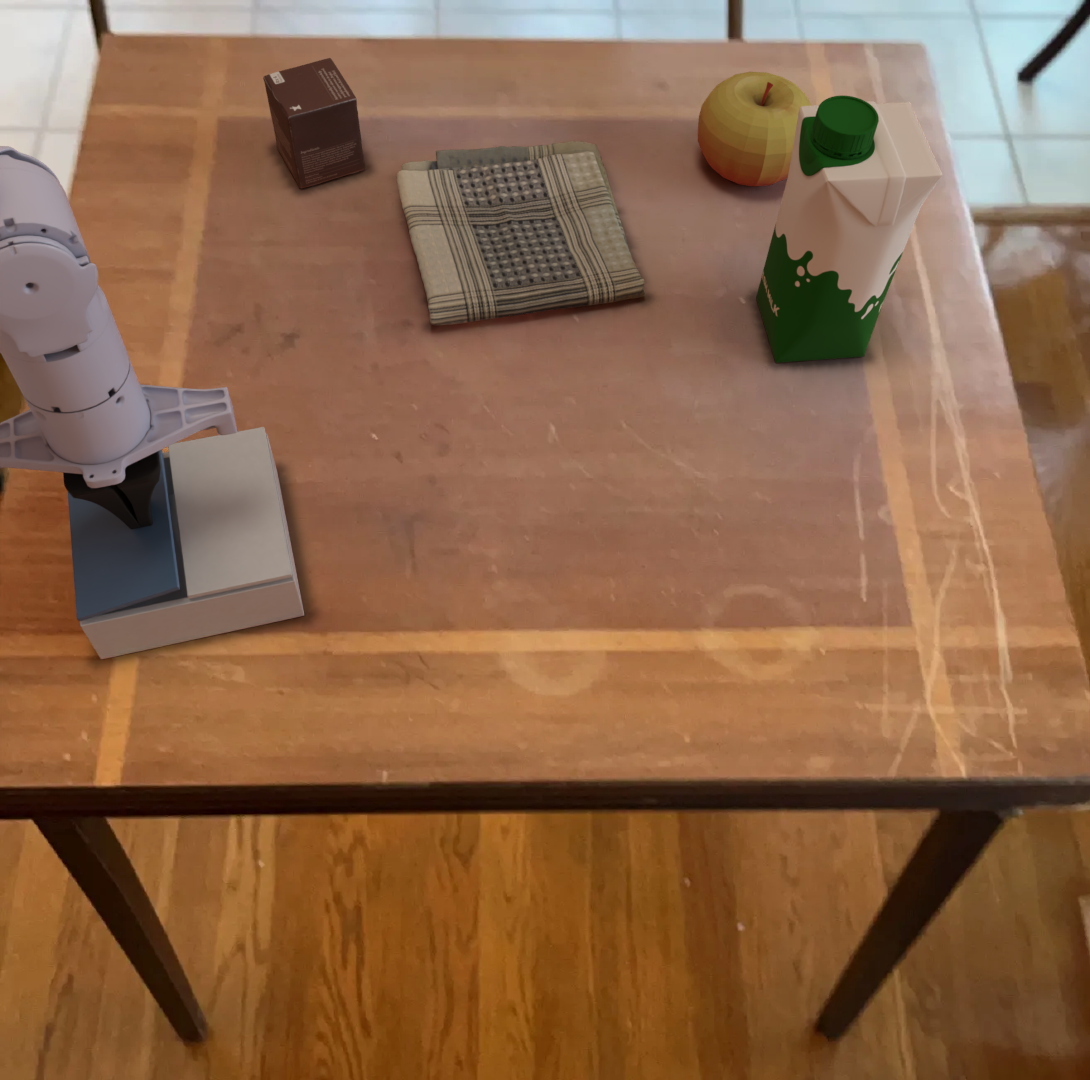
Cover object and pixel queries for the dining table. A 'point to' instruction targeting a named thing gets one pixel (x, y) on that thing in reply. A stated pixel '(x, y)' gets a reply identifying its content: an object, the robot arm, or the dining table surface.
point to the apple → (751, 127)
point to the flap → (121, 555)
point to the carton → (214, 550)
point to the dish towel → (516, 231)
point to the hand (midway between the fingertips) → (140, 514)
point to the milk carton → (842, 225)
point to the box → (315, 122)
